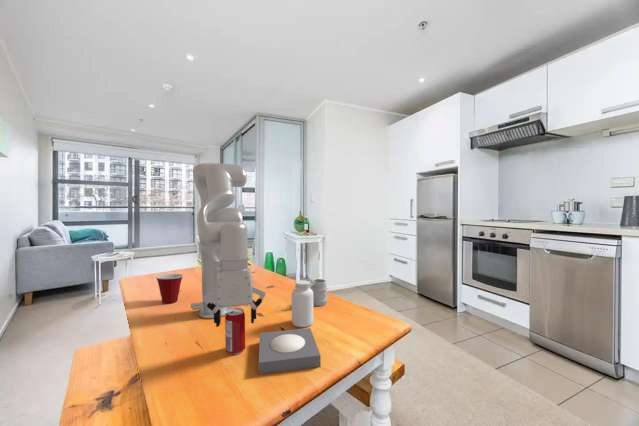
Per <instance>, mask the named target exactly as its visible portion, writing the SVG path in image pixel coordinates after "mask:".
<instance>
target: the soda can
mask: <svg viewBox="0 0 639 426" xmlns="http://www.w3.org/2000/svg"><path fill="white" fill-rule="evenodd" d="M224 326H225V332H224V334H225V338H224V339H225V352H226V354H228V353H229V354H228V355H230V354H235V355H239V354H241V353H243V352H244V350H245V349H246V314H245V311H244V309H243V308H242V307H232V309H229V310H228V311H227V312H226V315H225V316H224Z"/></svg>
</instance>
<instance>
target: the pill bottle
mask: <svg viewBox="0 0 639 426" xmlns="http://www.w3.org/2000/svg"><path fill="white" fill-rule="evenodd" d="M294 284H295V287H294V289H293V290H292V291H291V324H292V325H293V326H294V327H297V328H307V327H310V326H312V325H313V324H314V305H313V291H312V290H311V288H310V282H309V281H307V280H302V279H301V280H297V281H295V283H294Z"/></svg>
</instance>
